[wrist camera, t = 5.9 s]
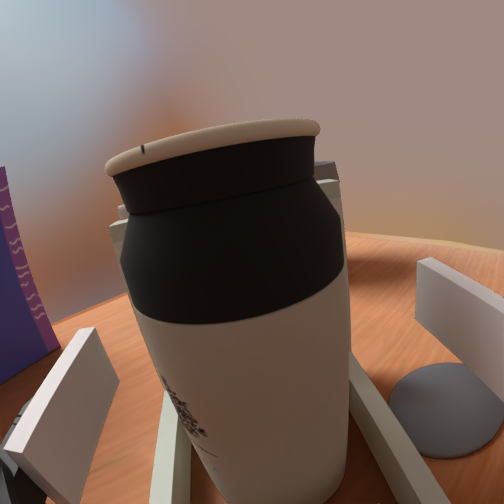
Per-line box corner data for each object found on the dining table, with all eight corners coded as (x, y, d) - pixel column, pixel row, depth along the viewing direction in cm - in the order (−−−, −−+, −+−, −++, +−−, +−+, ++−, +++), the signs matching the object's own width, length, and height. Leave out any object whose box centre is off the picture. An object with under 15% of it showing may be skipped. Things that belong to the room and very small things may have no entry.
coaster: (370, 448, 15) (371, 444, 15) (401, 362, 22) (402, 358, 22) (501, 461, 10) (504, 456, 10) (501, 369, 17) (503, 364, 17)
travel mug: (317, 409, 20) (283, 134, 15) (367, 491, 12) (374, 108, 7) (208, 439, 19) (121, 166, 13) (227, 535, 11) (59, 164, 6)
